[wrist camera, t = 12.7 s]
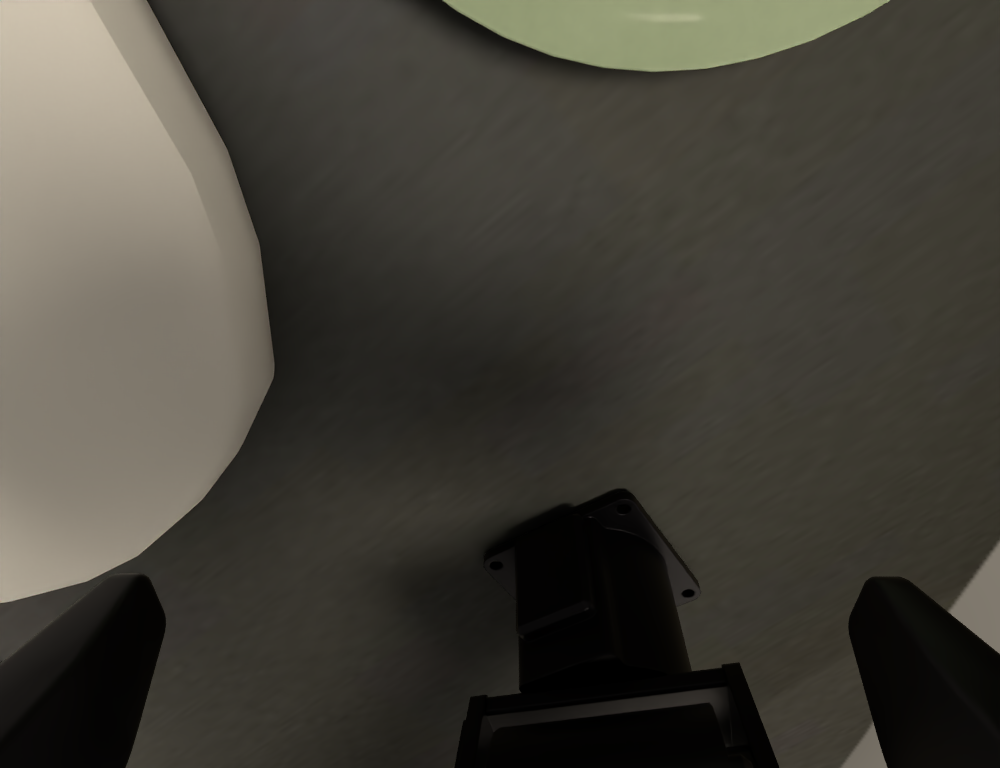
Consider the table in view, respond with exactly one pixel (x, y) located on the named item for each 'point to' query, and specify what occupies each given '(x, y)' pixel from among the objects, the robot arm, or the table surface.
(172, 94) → the white round disc
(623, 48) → the green disc with post
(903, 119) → the table surface
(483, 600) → the table surface
